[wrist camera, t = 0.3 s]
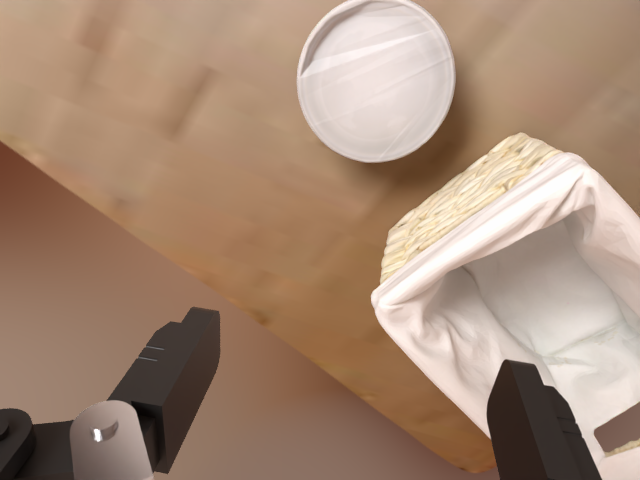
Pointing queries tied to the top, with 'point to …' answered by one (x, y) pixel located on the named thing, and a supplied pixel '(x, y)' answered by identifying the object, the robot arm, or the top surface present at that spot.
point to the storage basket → (522, 287)
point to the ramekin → (376, 79)
